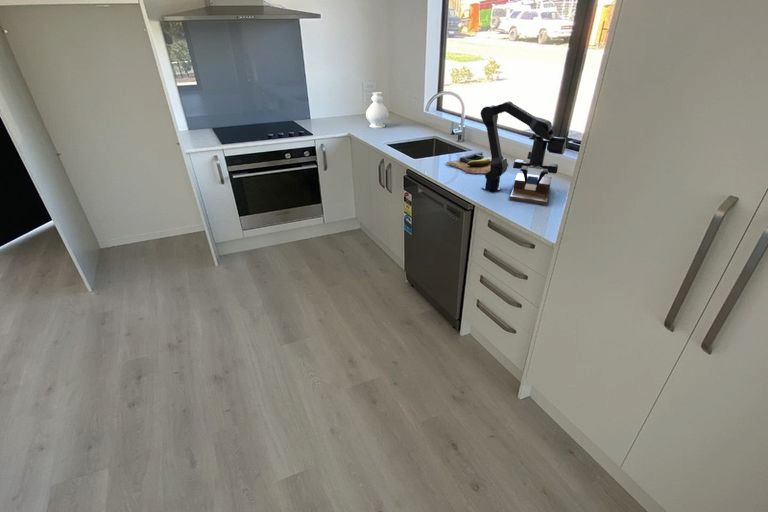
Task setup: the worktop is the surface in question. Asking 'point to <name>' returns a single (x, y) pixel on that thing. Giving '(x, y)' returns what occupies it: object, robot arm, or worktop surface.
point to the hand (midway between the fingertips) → (531, 184)
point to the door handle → (472, 157)
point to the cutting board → (473, 165)
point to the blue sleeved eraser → (531, 183)
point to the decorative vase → (377, 111)
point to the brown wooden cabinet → (530, 195)
